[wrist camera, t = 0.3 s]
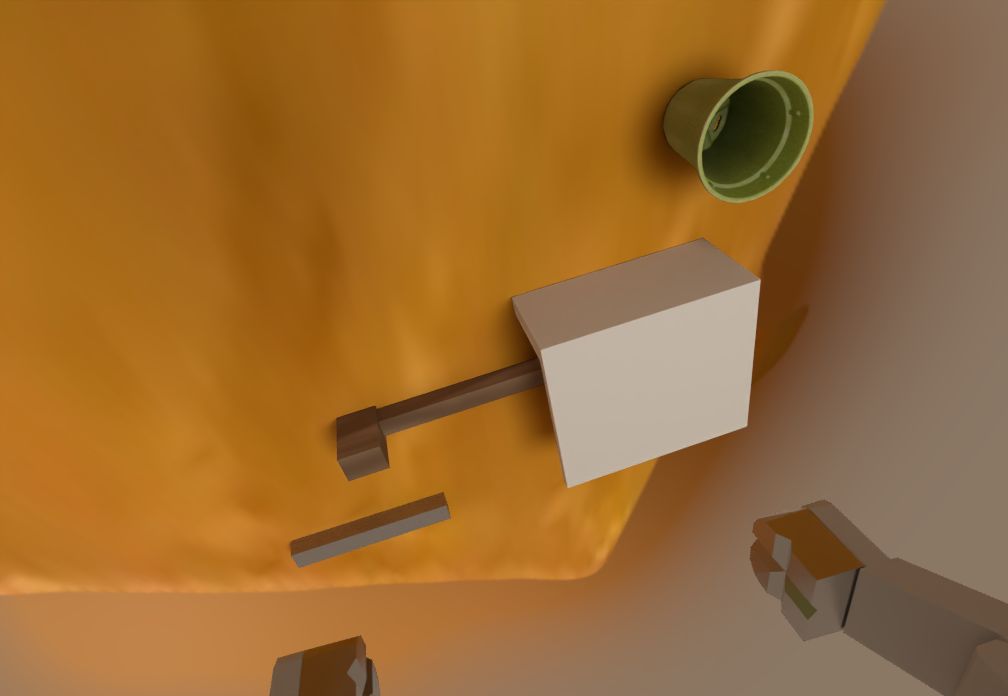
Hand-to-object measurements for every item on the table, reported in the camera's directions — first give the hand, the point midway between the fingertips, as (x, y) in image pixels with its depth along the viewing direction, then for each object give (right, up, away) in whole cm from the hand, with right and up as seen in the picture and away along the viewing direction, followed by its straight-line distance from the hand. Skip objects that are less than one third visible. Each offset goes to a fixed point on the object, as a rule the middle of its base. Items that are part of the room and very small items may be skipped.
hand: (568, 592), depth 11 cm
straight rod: (-17, -15, +55) cm, 60 cm away
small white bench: (+11, +6, +49) cm, 50 cm away
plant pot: (+15, +25, +37) cm, 47 cm away
